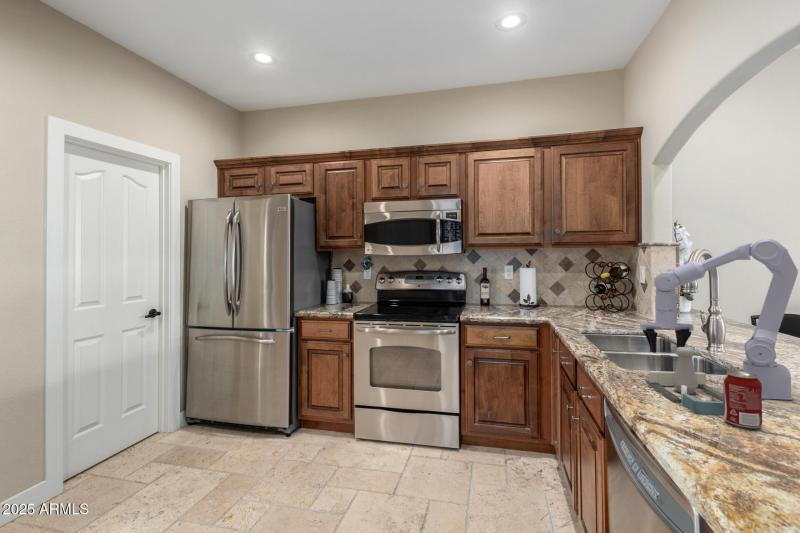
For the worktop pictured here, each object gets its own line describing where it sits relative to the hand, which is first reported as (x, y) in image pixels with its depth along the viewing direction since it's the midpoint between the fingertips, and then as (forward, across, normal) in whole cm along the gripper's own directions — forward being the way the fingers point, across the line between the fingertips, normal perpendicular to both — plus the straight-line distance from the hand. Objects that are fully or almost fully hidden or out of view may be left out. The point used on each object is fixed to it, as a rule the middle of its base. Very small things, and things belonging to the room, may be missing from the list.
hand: (666, 352), depth 124 cm
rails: (+9, 0, +12) cm, 15 cm away
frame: (+9, 0, +25) cm, 27 cm away
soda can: (+9, -1, +34) cm, 35 cm away
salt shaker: (+9, 0, +11) cm, 14 cm away
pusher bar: (+9, 0, +3) cm, 9 cm away
